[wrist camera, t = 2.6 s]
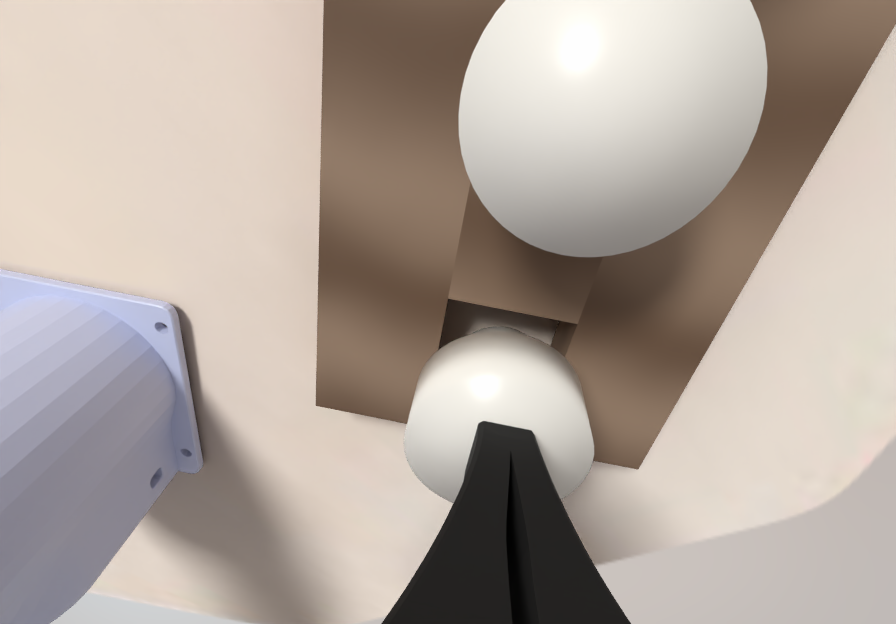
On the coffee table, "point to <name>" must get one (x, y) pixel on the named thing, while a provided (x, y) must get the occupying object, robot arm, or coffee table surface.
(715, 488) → the coffee table surface
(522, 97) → the knob middle
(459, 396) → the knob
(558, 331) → the brown wooden board
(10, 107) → the coffee table surface
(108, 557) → the robot arm
